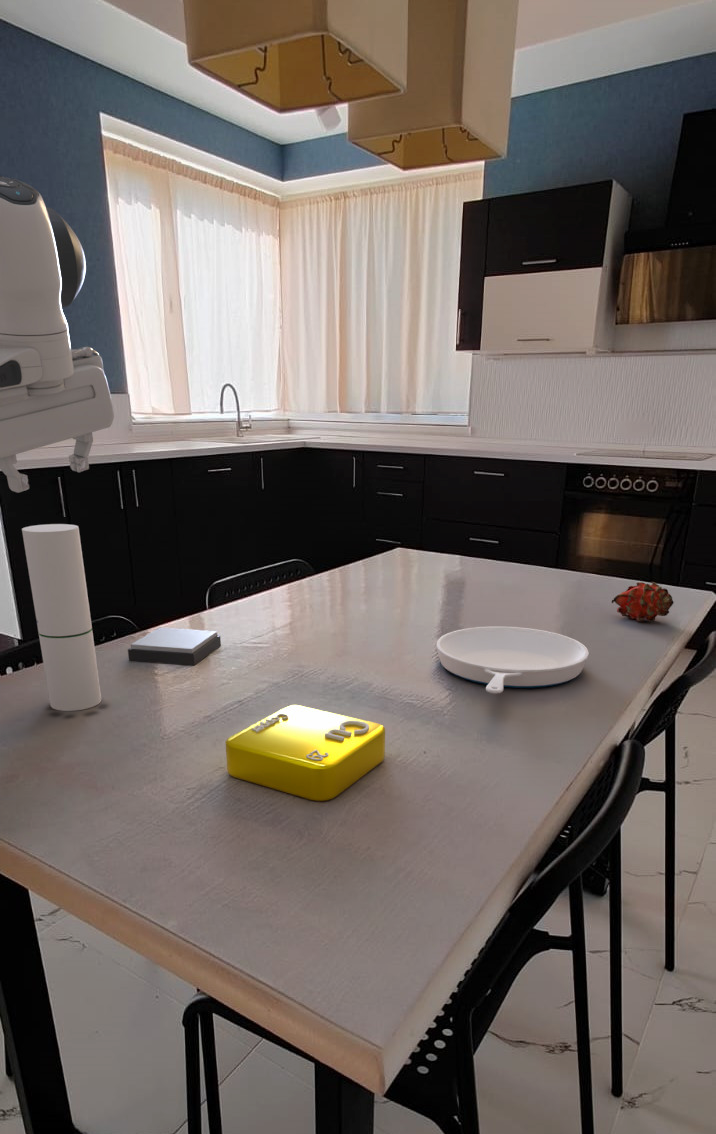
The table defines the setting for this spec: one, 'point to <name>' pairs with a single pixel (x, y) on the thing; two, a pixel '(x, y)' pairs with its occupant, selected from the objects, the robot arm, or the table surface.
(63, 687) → the cylindrical container
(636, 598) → the dragon fruit
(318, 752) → the element tile
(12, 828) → the table surface
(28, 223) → the robot arm
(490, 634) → the pan
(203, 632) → the scale
